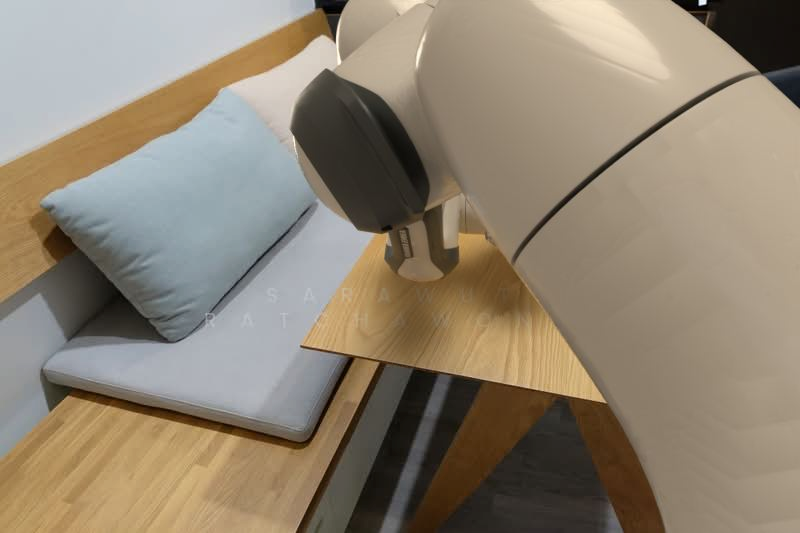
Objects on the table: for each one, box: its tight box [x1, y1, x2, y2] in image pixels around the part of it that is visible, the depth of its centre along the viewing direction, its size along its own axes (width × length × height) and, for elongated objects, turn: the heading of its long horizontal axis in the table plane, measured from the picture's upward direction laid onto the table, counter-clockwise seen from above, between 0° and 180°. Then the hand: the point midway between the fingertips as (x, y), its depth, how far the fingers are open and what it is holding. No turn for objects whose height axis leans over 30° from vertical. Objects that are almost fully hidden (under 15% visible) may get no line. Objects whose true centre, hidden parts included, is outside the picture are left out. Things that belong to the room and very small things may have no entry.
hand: (584, 205), depth 75 cm, fingers open, 8 cm apart
